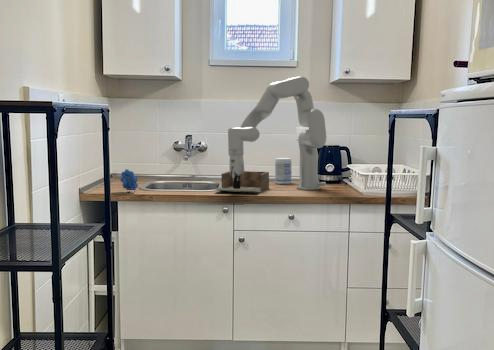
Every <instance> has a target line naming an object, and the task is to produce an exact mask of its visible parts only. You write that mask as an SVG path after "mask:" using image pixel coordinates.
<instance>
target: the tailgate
mask: <svg viewBox="0 0 494 350" xmlns="http://www.w3.org/2000/svg"><path fill="white" fill-rule="evenodd" d="M214 191H220V192H235V191H240V193H241V192H242V193H262V192H261V190H257V189H234V188H222V187H214Z"/></svg>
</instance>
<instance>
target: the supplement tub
mask: <svg viewBox="0 0 494 350" xmlns="http://www.w3.org/2000/svg"><path fill="white" fill-rule="evenodd" d="M274 163H275V164H274V165H275V166H274V167H275V168H274V178H275V179H274V182H275V184H277V185H290V184H291V183H292V158H289V157H276V158H275V162H274Z"/></svg>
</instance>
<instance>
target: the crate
mask: <svg viewBox="0 0 494 350" xmlns="http://www.w3.org/2000/svg"><path fill="white" fill-rule="evenodd" d="M221 188H233V178H232V175H230V170H228V171H226V172H222V173H221ZM240 189H257V190H261V192H260V193H263V192H265V191H267V190H268V189H270V172H269V171H255V170H254V171H249V170H248V171H247V170H246V171H245V170H244V174H242V175H241V176H240Z"/></svg>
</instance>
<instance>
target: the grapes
mask: <svg viewBox="0 0 494 350" xmlns="http://www.w3.org/2000/svg"><path fill="white" fill-rule="evenodd" d="M120 174H121V177H120V182H121V183H122V188H123V189H125V190H126V191H127V190H136V191H137V188H138V187H139V184H138V183H137V182H138V180H139V179H138V177H137V176H135V172H134V171H132V170H131V171H130V169H126V168H125V170H124V171H122V172H121V173H120Z"/></svg>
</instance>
